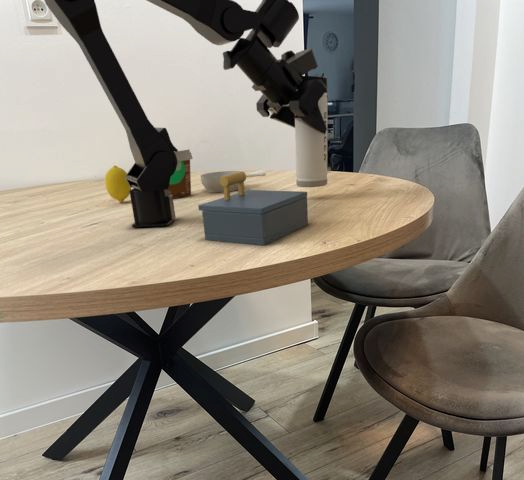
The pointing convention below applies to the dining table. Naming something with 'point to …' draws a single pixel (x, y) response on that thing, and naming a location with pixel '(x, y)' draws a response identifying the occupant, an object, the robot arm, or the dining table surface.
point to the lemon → (117, 184)
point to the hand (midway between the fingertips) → (316, 131)
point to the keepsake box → (255, 224)
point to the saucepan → (213, 180)
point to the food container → (181, 176)
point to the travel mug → (311, 147)
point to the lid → (249, 198)
